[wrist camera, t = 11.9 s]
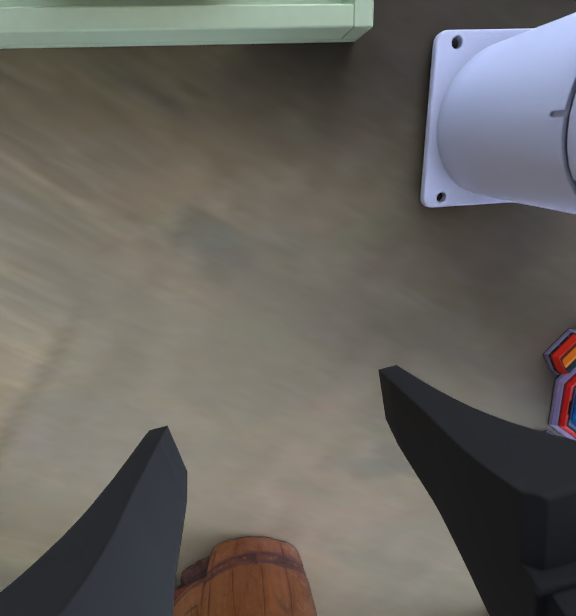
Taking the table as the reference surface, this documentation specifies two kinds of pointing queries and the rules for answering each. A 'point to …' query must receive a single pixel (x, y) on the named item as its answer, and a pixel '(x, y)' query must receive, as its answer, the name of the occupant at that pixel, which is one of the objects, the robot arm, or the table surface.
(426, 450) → the robot arm
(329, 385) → the table surface
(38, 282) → the table surface
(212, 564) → the wooden figurine
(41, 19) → the tray
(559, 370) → the fantasy tower
